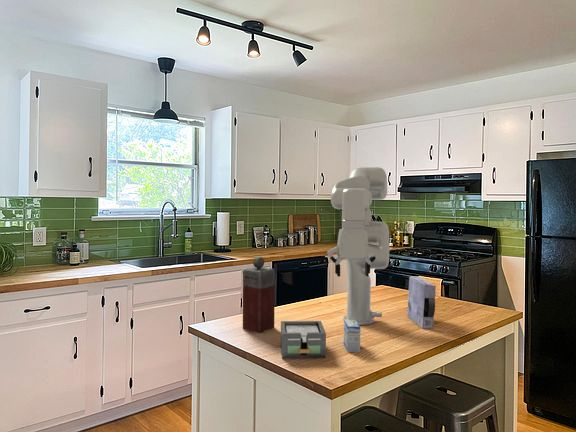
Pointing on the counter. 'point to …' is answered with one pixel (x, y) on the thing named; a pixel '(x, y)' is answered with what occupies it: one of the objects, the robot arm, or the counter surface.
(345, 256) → the robot arm
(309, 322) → the grey hollow square box
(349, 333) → the medicine box
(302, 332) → the light grey flat panel
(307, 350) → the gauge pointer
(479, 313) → the counter surface
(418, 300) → the cake pan box
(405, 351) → the counter surface
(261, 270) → the red square decanter
